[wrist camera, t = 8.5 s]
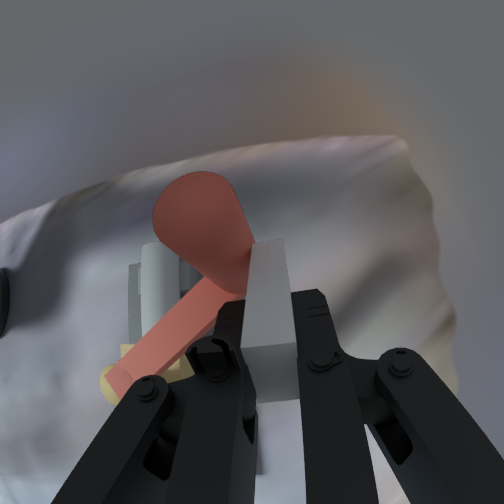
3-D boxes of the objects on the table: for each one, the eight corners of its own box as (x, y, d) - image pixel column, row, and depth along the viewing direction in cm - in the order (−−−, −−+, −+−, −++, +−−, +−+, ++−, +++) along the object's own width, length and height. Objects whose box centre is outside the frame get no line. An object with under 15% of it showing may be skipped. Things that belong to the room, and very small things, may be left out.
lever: (127, 411, 16) (33, 433, 7) (104, 378, 17) (8, 380, 8) (276, 273, 18) (255, 204, 9) (243, 242, 19) (199, 158, 10)
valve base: (153, 467, 23) (104, 499, 13) (135, 268, 32) (80, 237, 22) (249, 475, 22) (227, 526, 12) (225, 254, 31) (192, 211, 21)
